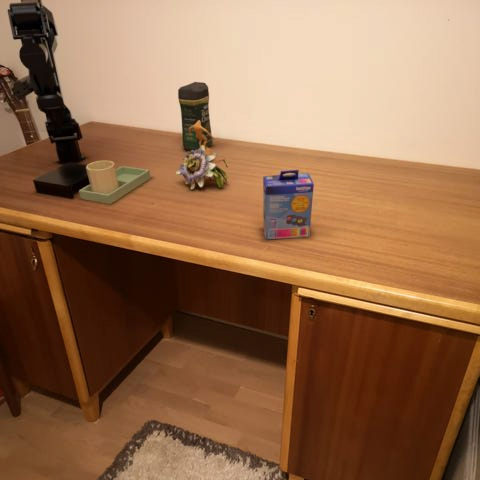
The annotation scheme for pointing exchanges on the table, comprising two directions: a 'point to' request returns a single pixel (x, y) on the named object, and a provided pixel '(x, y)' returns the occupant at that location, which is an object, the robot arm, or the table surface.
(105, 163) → the cup
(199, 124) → the figurine
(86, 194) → the tray
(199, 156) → the passion flower
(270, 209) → the ink cartridge box
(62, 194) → the flat black slab base
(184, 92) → the coffee jar
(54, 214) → the table surface
